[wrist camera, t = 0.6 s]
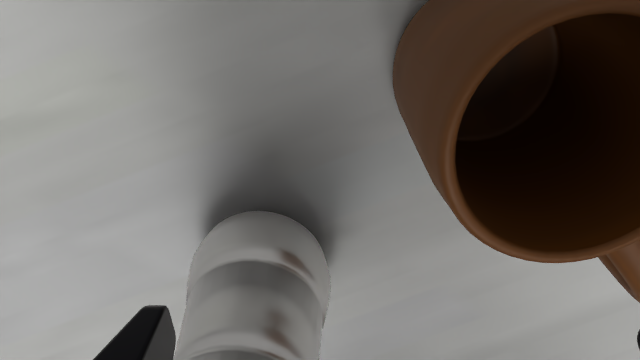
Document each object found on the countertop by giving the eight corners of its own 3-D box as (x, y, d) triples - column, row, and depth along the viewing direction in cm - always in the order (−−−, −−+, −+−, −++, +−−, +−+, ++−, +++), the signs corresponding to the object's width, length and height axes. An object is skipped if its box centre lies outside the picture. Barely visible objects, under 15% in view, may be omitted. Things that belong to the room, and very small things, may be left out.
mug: (638, 151, 23) (831, 274, 14) (496, 239, 25) (589, 392, 16) (510, -73, 18) (671, -92, 10) (353, 54, 21) (376, 128, 12)
